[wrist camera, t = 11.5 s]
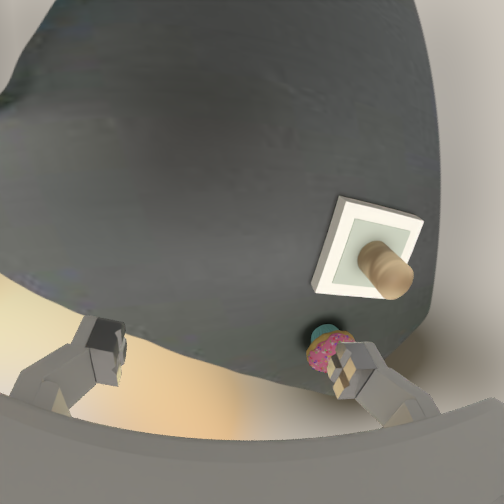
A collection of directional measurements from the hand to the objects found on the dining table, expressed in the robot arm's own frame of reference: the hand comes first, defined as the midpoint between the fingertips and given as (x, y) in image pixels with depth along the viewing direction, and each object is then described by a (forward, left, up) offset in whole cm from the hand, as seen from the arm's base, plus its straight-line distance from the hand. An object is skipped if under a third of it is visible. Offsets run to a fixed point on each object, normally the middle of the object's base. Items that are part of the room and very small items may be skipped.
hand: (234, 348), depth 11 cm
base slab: (+7, +23, -29) cm, 38 cm away
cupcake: (+24, +22, -29) cm, 44 cm away
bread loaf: (+7, +23, -26) cm, 36 cm away
